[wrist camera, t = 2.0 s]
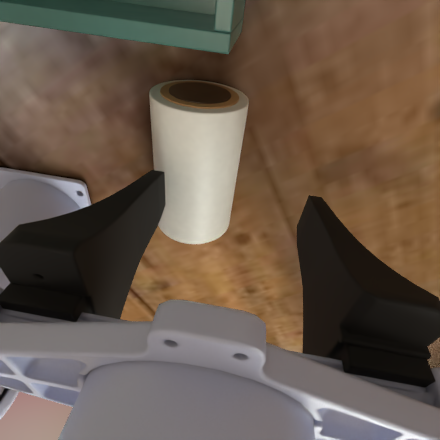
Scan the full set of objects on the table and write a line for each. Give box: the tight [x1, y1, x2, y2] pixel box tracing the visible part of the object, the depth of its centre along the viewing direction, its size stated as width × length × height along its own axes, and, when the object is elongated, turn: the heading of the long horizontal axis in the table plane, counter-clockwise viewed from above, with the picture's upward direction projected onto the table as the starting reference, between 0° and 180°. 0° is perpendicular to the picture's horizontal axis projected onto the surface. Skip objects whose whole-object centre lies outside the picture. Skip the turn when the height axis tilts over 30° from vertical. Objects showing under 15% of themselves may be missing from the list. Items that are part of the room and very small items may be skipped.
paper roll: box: [149, 80, 249, 244], centre depth 16 cm, size 8×5×5 cm
